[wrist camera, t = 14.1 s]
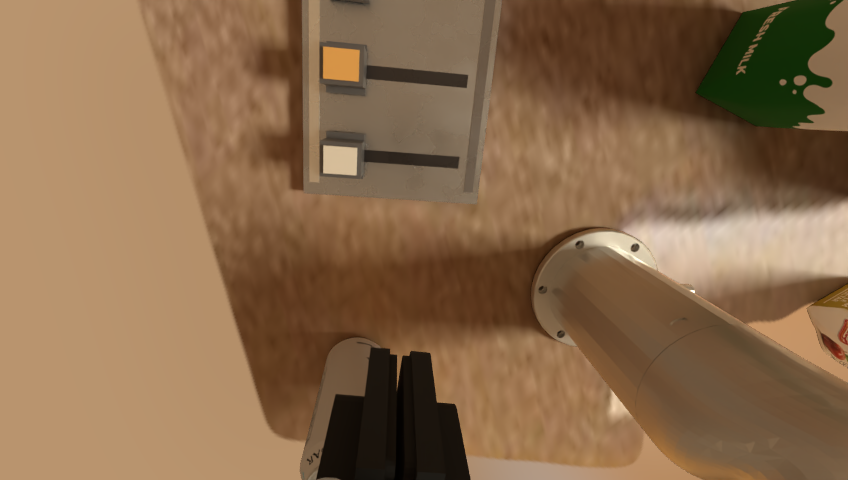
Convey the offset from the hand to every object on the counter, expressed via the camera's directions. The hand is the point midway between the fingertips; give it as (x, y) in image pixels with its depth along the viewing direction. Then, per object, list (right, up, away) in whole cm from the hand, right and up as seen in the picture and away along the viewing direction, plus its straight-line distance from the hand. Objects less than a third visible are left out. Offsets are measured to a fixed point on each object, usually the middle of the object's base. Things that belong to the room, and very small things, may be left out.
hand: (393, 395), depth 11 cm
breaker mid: (-5, +18, +20) cm, 27 cm away
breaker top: (-6, +11, +22) cm, 26 cm away
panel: (-1, +18, +22) cm, 28 cm away
